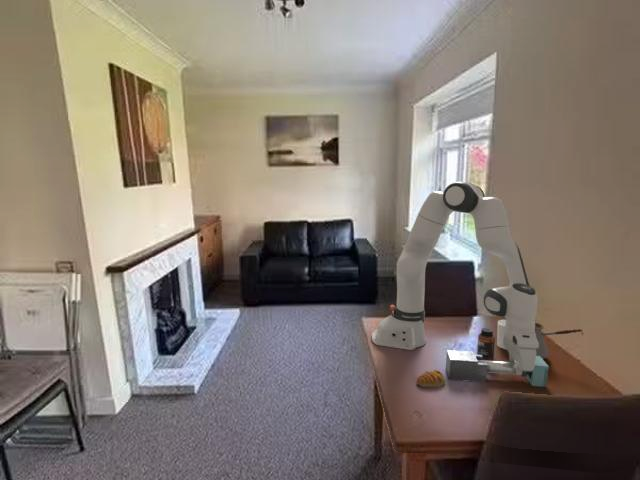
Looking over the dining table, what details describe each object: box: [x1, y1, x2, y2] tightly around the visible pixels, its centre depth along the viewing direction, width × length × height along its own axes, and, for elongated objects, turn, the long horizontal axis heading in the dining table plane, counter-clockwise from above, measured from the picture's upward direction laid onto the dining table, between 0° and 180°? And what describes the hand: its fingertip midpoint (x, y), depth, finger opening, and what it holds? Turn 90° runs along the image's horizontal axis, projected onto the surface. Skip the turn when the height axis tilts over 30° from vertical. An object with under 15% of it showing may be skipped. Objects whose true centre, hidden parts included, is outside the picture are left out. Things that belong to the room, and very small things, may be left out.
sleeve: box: [445, 349, 488, 383], centre depth 138 cm, size 12×7×7 cm, turn 82°
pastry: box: [416, 369, 446, 388], centre depth 134 cm, size 9×7×4 cm
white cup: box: [496, 319, 507, 351], centre depth 160 cm, size 8×8×10 cm
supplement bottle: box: [476, 327, 496, 361], centre depth 151 cm, size 6×6×11 cm
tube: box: [478, 359, 532, 378], centre depth 136 cm, size 19×5×5 cm, turn 82°
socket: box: [525, 356, 550, 388], centre depth 135 cm, size 4×7×7 cm, turn 172°
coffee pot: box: [535, 322, 584, 360], centre depth 148 cm, size 21×12×15 cm, turn 53°
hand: (515, 369), depth 136 cm, fingers closed on tube, 4 cm apart
